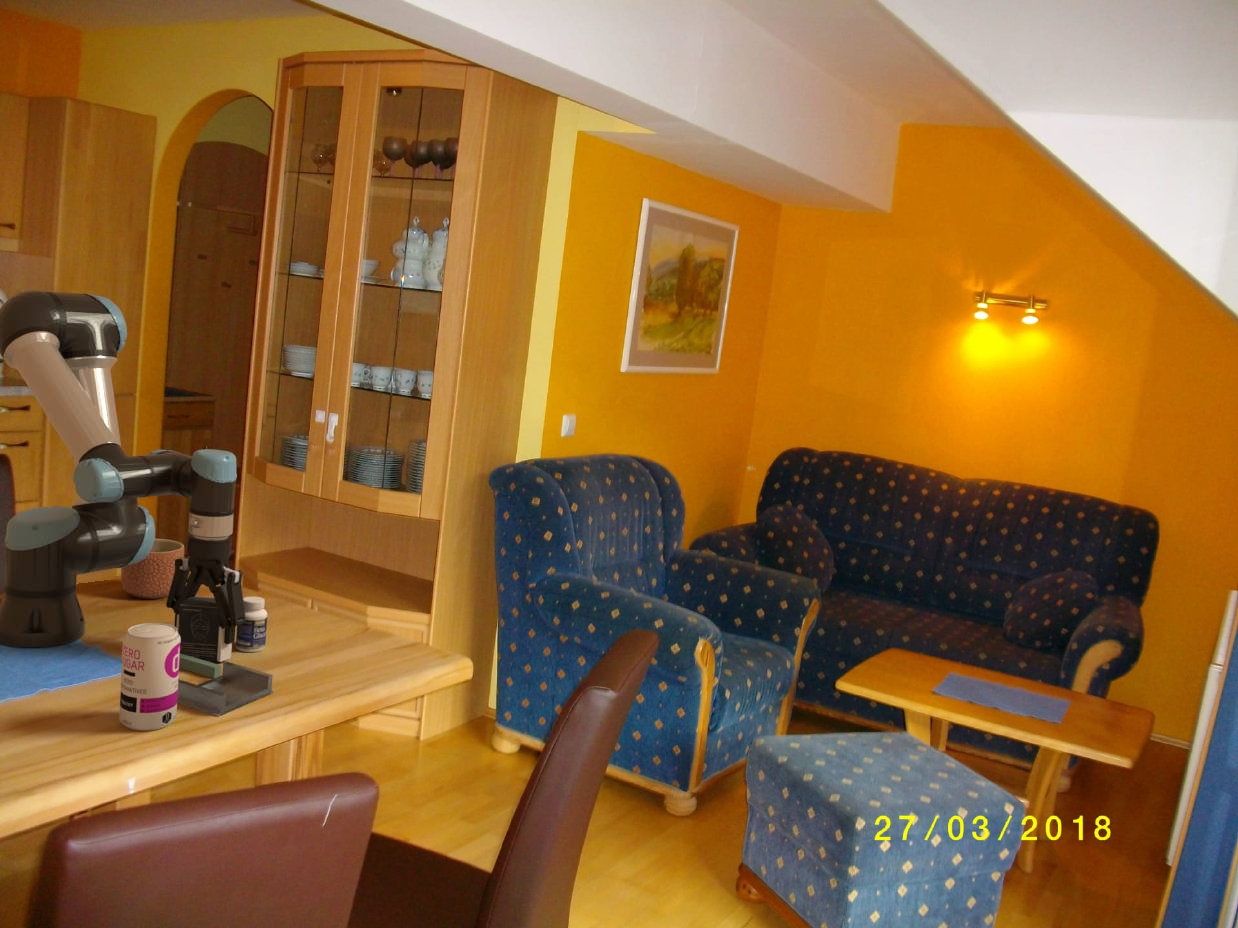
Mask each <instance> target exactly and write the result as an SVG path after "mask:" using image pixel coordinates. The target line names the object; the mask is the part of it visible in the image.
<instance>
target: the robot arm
mask: <svg viewBox="0 0 1238 928" xmlns="http://www.w3.org/2000/svg"><path fill="white" fill-rule="evenodd" d="M127 327H128V326H127V323H126V319H125V317H124V314H123V313H122V311H121V309H120V308H119V306H118V305H117V304H115V303H114V302H113V301H112V300H111V299H109V298H107V297H105V296H100V295H93V294H91V293H90V294H89V293H85V292H84V293H77V292H76V293H75V292H74V293H72V292H57V291H44V290H25V291H22V292H20V293H17V294H15V295H13V296H11V297H9V298H8V299H7V300H6V301H5V302H3V304H2V305H1V307H0V356H1V357H2V358H3V360H4V362H5V364H6V365H7V366H9V367H10V368H12V369H15V370H17V372H18V373H19V374H20V376H21V378H22V379H23V381H24V382H25V384H26V385H27V386H28V388H29V390H30V392H31V393H32V395H33V397H34V398H35V399H36V401H37V403H38V404H39V406H40V408H42V411H43V412H44V414H45V415H46V417H47V418H48V420H49V421H50V423H51V424H52V426H53V428H54V430H55V432H56V433H57V434H58V436H59V438H60V439H61V440H62V442H63V444H64V445H65V446H66V449H67V450H68V452H69V453H70V455H71V456H72V457H73V463H74V470H73V477H72V482H73V483H74V485H75V487H74V490H75V492H76V494H77V495H78V496H77V497H76V498H75V500H74V501H73V502H72V503H71V507H69V506H60V505H59V506H58V505H56V506H50V507H48V506H42V507H41V506H40V507H34V508H31V509H27V510H24V511H20V512H18V513H17V514H15V515H13V516H12V517H11V518H10V520H9V521H8V522H7V524H6V533H5V538H4V545H5V557H4V558H5V562H4V563H5V565H4V595H3V599H2V600H1V604H0V644H2V645H6V646H10V647H11V646H12V647H19V648H41V647H44V648H45V647H53V646H58V645H63V644H67V643H70V642H74V641H76V640H78V639H80V638H82V637H83V636H84V635H85V633H86V632H85V630H86V620H85V617H84V615H83V612H82V608H81V605H80V603H79V599H78V596H77V576H79V575H83V574H90V573H95V572H101V571H107V570H113V569H121V568H123V567H126V566H128V565H132V564H136V563H139V562H140V561H142V560H143V559H145V558H146V556H147V555H148V553H149V551H150V550H151V549H152V546H153V543H154V539H156V525H155V521H154V517H153V516H152V515H151V514H150V511H149V510H148V509H147V508H145V507H144V506H141V505H139V501H138V498H139V499H140V498H151V497H159V496H168V495H169V496H170V495H175V496H180V497H184V498H187V499H189V510H188V511H189V515H188V516H189V518H188V533H189V534H190V535H188V537H187V543H186V544H187V545H186V546H187V548H186V555H187V556H184V557H183V558H179V559H176V560H175V572H174V576H173V580H172V584H171V587H170V591H169V595H168V596H167V600H166V603H165V606H166V608H168V609H172V611H173V613H174V625H173V626H174V627H176V628H177V632H178V627H179V607H180V604H181V603H182V602H183V601H185V600H186V599H187V598H191V597H196V596H197V593H198V591H199V590H200V587H201V586H202V585H203V586H204V587H207V588H208V589H209V592H210V593H212V595H213V598H215V601H216V604H217V608H218V611H219V614H220V617H221V620H222V623H223V626H220V627H219V638H218V654H217V661H219V662H218V663H221V662H223V661H227V660H229V659H231V658H232V649H233V648H232V647H233V643H235V642H236V629H237V625H240V624H243V623H245V622H246V618H245V611H244V603H243V598H244V596H243V589H242V588H243V587H242V580H243V579H242V578H243V571H242V570H241V569H238V570H233V569H231V568H230V566H229V558H230V557H231V555H232V545H233V538H232V537H231V535H232V534H233V533H234V532H233V531H234V530H233V529H234V512H235V511H234V510H235V498H236V497H235V496H236V487H237V483H236V482H237V477H238V474H237V457H236V455H235V454H234V453H233V452H231V451H228V450H220V449H212V448H210V449H207V448H206V449H203V448H202V449H198V450H195V451H194V452H193V454H192V455H189V454H188V455H187V454H183V453H181V452H177V451H176V450H171V449H170V450H167V449H157V450H153V451H151V452H150V453H149V454H147V455H146V454H145V455H127V453H125V451H124V449H123V448H122V442H121V436H120V427H119V422H118V421H119V420H118V414H117V408H116V406H117V405H116V401H115V392H114V385H113V380H112V373H111V370H112V368H113V366H114V365H115V364H116V363H117V362H118V353H120V352H121V351H122V350H123V348H124V347H125V345H126V342H125V340H127V337H128V331H127V330H128V329H127ZM229 618H230V620H229Z"/></svg>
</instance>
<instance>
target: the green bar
mask: <svg viewBox="0 0 1238 928" xmlns="http://www.w3.org/2000/svg"><path fill="white" fill-rule="evenodd" d="M179 669H181V670H185V671H187V672H192V673H195V674H197V675H201V676H204V677H208V678H211V679H214V678H216V677H219V676H222V675H221V673H222V672H221V671H222V665H221V664H217V663H214V662H212V661H204V660H201V659H198V658H194V657H191V656H187V655H184V654H181V653H180V658H179Z"/></svg>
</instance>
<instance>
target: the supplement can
mask: <svg viewBox="0 0 1238 928" xmlns="http://www.w3.org/2000/svg"><path fill="white" fill-rule="evenodd" d="M180 640H181V637H180V636H179V634H178V632H177V628H176V627H174V625H173V624H168V623H163V622H148V623H147V622H145V623H138V624H135V625H133V626H131V627H129V628H128V629H127V632H126V634H125V635H124V637H123V639H122V650H121V652H122V654H121V655H122V657H121V678H120V680H121V681H120V695H119V696H120V700H119V717H118V718H119V719H118V720H119V722H120V723H121V724H122V725H124V726H125V728H127V729H129V730H134V731H141V732H142V731H144V732H149V731H156V730H159V729H163V728H166V727H168V726H170V725H171V724H172V723H173V722H174V721H175V720H176V719H177V715H178V713H177V712H178V710H177V709H178V704H177V695H178V680H179V677H180V673H179V671H180V668H179V658H180Z"/></svg>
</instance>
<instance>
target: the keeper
mask: <svg viewBox="0 0 1238 928" xmlns="http://www.w3.org/2000/svg"><path fill="white" fill-rule="evenodd" d="M222 663H223V664H222V672H221V673H222V675H220V676H219V677H216V678H211V679H209V680H206V681H203V682H201V683H198V684H196V683H193V682H192V683H191V682H189V681H186V680H182V679H178V695H177V705H181V706H183V707H187V708H190V709H194V710H197V711H199V712H202V713H205V714H209V715H212V716H215V717H221V716H223V715H225V714H227V713H230V712H233V711H234V710H237V709H240V708H241V707H244V706H246V705H248V704H251V703H253V702H255V701H257V700H261V699H263V698H265V697H267V696H270V695H271V694H273V693H274V690H273V689H272V688H273V677H274V676H273V674H271V673H267V672H264V671H260V670H257V669H255V668H250V667H247V666H245V665H244V666H243V665H240V664H236V663H233V662H231V661H230V662H229V661H225V662H222Z"/></svg>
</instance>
